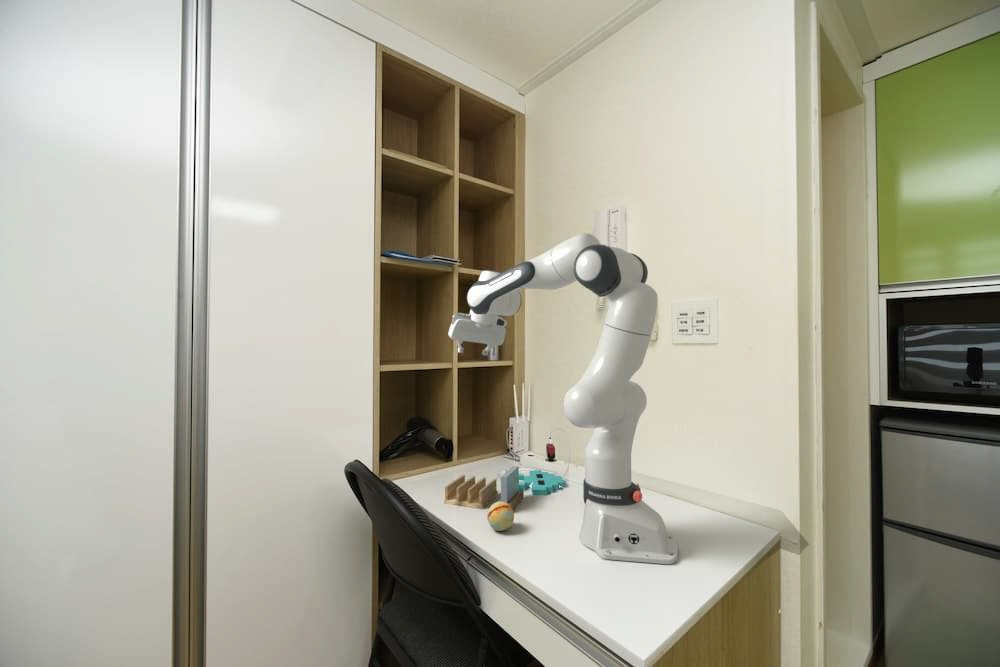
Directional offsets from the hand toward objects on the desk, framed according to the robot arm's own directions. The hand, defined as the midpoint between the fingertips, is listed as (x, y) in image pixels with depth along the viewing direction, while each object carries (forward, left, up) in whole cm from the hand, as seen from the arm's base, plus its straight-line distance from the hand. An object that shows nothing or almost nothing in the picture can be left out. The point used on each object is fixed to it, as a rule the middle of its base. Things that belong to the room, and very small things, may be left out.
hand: (472, 353), depth 134 cm
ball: (-21, +27, -46) cm, 57 cm away
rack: (-5, +11, -46) cm, 47 cm away
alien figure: (-20, -8, -46) cm, 51 cm away
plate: (-18, +11, -46) cm, 50 cm away
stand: (-18, +11, -46) cm, 50 cm away
